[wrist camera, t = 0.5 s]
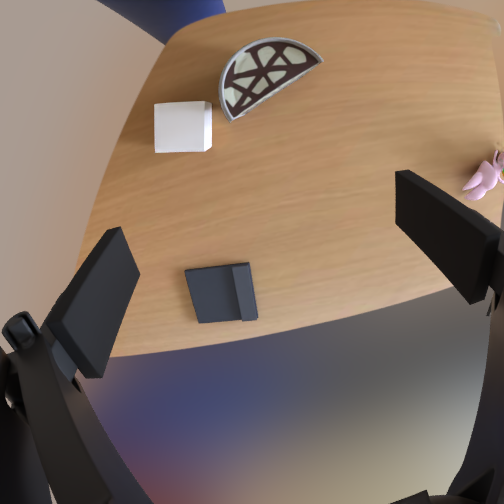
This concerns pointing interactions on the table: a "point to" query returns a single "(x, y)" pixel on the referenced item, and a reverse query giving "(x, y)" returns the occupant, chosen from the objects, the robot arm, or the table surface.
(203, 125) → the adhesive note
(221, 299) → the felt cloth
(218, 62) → the table surface
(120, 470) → the robot arm
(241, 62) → the food container
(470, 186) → the rabbit figure
